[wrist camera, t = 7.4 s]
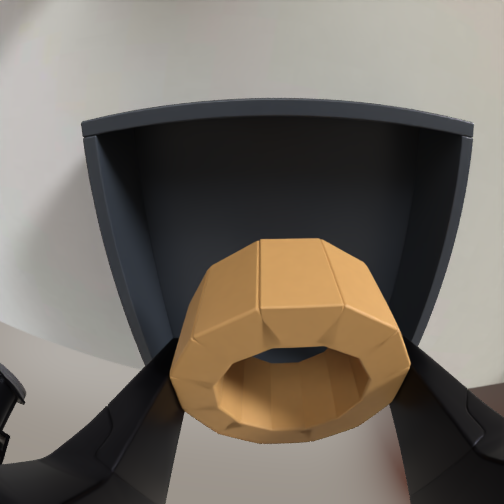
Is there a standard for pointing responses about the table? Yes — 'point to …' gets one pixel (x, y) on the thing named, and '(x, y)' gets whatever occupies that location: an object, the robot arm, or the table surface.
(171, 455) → the robot arm
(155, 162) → the tray
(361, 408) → the tape
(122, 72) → the table surface
